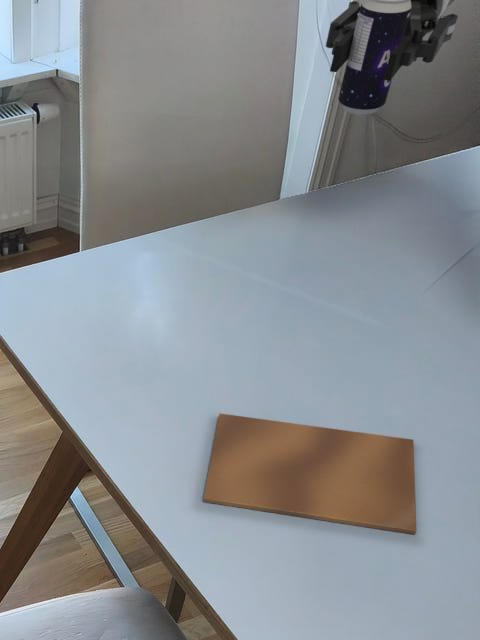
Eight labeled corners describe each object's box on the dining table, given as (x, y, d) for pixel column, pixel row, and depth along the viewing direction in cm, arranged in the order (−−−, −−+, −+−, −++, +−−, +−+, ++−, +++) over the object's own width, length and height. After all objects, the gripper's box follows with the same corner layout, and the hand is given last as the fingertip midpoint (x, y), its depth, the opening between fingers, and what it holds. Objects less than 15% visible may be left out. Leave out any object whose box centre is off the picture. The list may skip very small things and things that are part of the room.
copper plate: (412, 443, 92) (413, 439, 91) (414, 534, 83) (416, 530, 83) (218, 416, 96) (219, 413, 95) (202, 501, 87) (203, 498, 87)
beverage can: (367, 121, 108) (398, 4, 99) (327, 108, 111) (354, -6, 101) (392, 107, 110) (425, -8, 101) (352, 95, 113) (380, -17, 104)
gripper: (476, 48, 115) (433, 111, 102) (334, 28, 121) (278, 86, 109) (499, -22, 109) (457, 36, 97) (349, -38, 115) (292, 14, 103)
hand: (363, 62), depth 103 cm, fingers closed on beverage can, 6 cm apart
